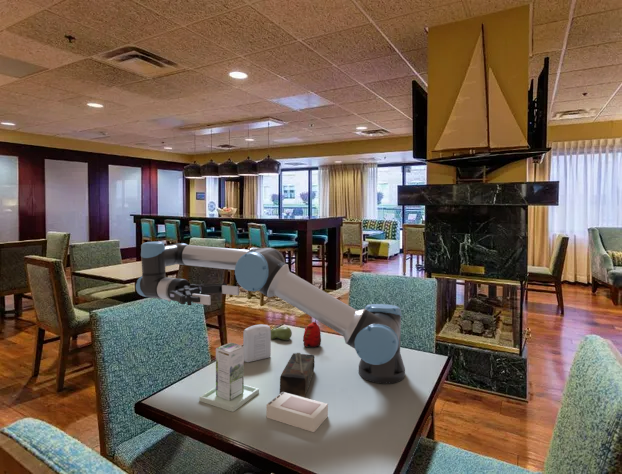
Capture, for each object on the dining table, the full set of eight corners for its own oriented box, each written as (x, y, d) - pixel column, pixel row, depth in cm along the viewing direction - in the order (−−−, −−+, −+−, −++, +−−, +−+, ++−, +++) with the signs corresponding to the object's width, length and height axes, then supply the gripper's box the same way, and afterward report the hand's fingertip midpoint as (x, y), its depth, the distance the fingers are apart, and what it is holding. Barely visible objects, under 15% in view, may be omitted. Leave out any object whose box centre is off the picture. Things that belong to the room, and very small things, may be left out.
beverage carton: (315, 371, 131) (315, 352, 130) (305, 399, 112) (305, 377, 111) (292, 369, 132) (292, 350, 131) (278, 397, 113) (278, 375, 113)
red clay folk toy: (305, 341, 158) (305, 305, 157) (322, 342, 157) (323, 306, 156) (301, 348, 151) (301, 310, 150) (319, 349, 150) (319, 311, 148)
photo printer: (267, 353, 145) (267, 321, 144) (272, 357, 142) (272, 324, 141) (241, 359, 140) (241, 326, 138) (246, 363, 136) (246, 329, 135)
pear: (286, 329, 156) (265, 329, 160) (288, 342, 157) (267, 342, 161) (292, 324, 162) (272, 325, 166) (294, 337, 162) (273, 338, 166)
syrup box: (230, 388, 117) (229, 341, 116) (244, 393, 114) (244, 345, 112) (215, 396, 112) (214, 347, 111) (230, 402, 109) (229, 351, 108)
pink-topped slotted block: (266, 417, 102) (266, 403, 102) (282, 403, 109) (282, 390, 109) (313, 432, 96) (313, 417, 95) (327, 416, 103) (327, 402, 102)
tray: (199, 401, 110) (199, 396, 110) (227, 383, 121) (227, 379, 121) (233, 411, 105) (233, 407, 105) (259, 392, 115) (259, 388, 115)
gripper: (201, 292, 142) (249, 298, 132) (144, 309, 120) (196, 317, 110) (200, 272, 141) (248, 276, 131) (143, 285, 119) (195, 291, 109)
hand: (224, 295), depth 121 cm, fingers open, 13 cm apart
